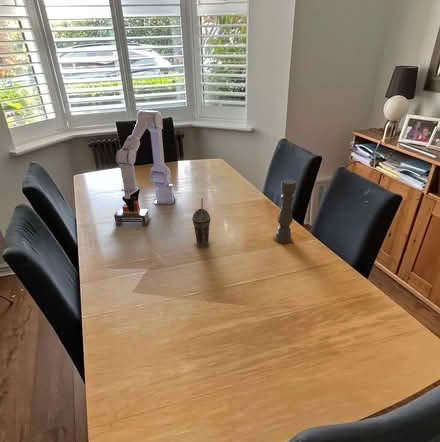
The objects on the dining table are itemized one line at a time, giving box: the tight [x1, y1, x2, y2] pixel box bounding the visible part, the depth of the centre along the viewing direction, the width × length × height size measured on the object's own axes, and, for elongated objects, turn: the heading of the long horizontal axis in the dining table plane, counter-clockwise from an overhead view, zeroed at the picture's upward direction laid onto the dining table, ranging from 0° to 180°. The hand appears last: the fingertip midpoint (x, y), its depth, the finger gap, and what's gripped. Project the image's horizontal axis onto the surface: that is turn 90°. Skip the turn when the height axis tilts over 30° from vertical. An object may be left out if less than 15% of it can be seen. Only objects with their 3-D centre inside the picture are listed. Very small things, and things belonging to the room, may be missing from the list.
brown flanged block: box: [113, 208, 150, 226], centre depth 167 cm, size 14×7×5 cm, turn 88°
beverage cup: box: [192, 197, 211, 249], centre depth 144 cm, size 7×7×20 cm
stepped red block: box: [122, 199, 141, 214], centre depth 164 cm, size 7×4×5 cm, turn 88°
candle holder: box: [275, 178, 297, 244], centre depth 145 cm, size 6×6×25 cm
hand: (133, 208), depth 165 cm, fingers open, 7 cm apart
